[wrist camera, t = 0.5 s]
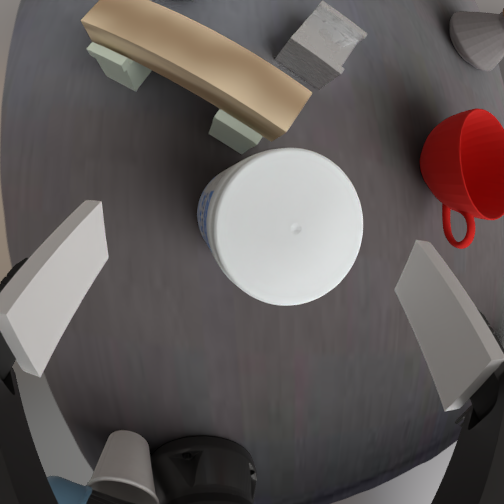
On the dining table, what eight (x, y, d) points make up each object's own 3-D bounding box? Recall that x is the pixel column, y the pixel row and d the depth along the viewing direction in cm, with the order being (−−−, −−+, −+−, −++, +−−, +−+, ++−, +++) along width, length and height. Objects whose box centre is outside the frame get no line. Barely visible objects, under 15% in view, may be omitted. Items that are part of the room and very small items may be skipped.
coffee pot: (436, 6, 32) (494, -24, 18) (477, 33, 35) (532, 13, 20) (454, 114, 36) (533, 100, 21) (493, 134, 38) (562, 128, 24)
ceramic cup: (384, 225, 35) (441, 234, 26) (410, 103, 34) (463, 86, 24) (447, 252, 39) (500, 265, 29) (468, 145, 37) (518, 141, 27)
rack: (240, 157, 31) (257, 144, 23) (104, 78, 26) (86, 48, 19) (273, 107, 30) (298, 84, 23) (142, 33, 26) (135, -5, 19)
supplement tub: (178, 200, 30) (173, 200, 16) (258, 150, 31) (316, 113, 17) (231, 279, 32) (269, 339, 18) (305, 228, 33) (388, 249, 19)
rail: (271, 141, 25) (286, 132, 21) (91, 41, 20) (80, 20, 16) (294, 106, 25) (312, 92, 21) (119, 10, 20) (113, -13, 16)
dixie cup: (126, 470, 34) (121, 522, 24) (86, 433, 32) (70, 486, 22) (171, 453, 35) (174, 508, 25) (132, 414, 32) (123, 471, 23)
